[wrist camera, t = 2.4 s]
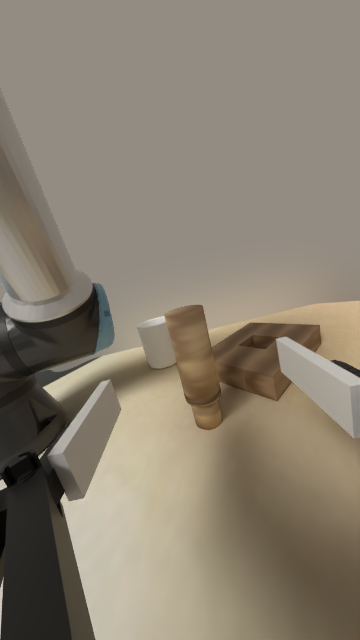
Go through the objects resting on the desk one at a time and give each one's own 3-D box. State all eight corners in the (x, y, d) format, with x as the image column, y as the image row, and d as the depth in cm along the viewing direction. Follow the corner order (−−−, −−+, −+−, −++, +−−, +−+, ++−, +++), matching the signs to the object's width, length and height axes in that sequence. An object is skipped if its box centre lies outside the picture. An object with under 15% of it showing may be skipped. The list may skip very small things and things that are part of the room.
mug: (179, 346, 58) (170, 311, 56) (183, 363, 47) (171, 320, 44) (151, 354, 58) (140, 319, 56) (147, 373, 47) (134, 330, 44)
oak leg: (184, 422, 28) (156, 316, 25) (207, 402, 31) (184, 305, 28) (210, 439, 25) (181, 317, 21) (233, 415, 28) (211, 304, 24)
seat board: (201, 375, 40) (196, 357, 39) (252, 337, 52) (250, 322, 51) (277, 400, 28) (273, 376, 27) (321, 343, 40) (319, 325, 39)
